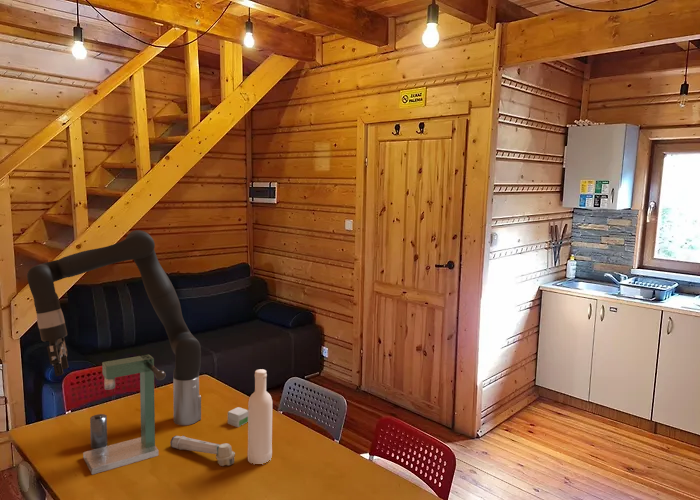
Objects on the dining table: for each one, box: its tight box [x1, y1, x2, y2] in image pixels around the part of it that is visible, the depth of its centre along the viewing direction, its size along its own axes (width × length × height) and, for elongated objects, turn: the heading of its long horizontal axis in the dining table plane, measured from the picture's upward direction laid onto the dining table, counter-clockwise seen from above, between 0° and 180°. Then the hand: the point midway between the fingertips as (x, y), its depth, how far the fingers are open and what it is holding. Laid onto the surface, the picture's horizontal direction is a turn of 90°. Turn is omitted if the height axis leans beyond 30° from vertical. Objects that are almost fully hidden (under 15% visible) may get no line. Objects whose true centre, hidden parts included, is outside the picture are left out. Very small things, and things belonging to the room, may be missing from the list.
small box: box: [227, 406, 248, 428], centre depth 194 cm, size 6×6×5 cm
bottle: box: [247, 368, 273, 465], centre depth 167 cm, size 8×8×30 cm
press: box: [82, 354, 167, 475], centre depth 162 cm, size 20×21×32 cm
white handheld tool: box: [169, 435, 236, 467], centre depth 169 cm, size 5×7×25 cm
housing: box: [89, 413, 108, 450], centre depth 173 cm, size 5×5×10 cm
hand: (62, 372), depth 169 cm, fingers open, 8 cm apart
